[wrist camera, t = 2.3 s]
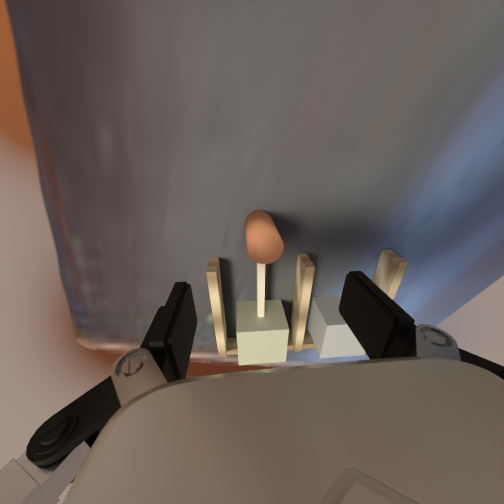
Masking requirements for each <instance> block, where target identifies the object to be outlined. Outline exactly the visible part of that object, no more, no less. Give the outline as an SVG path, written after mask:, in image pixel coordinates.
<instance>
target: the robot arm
mask: <svg viewBox="0 0 504 504" xmlns="http://www.w3.org/2000/svg"><path fill="white" fill-rule="evenodd" d="M339 313H340V315H341V316H342V318H343V319H344V321H345V322H346V324H347V325H348V327H349V328H350V330H351V331H352V333H353V334H354V336H355V337H356V339H357V340H358V342H359V343H360V345H361V346H362V348H363V349H364V351H365V352H366V354H367V355H368V357H369V358H370V360H360V361H348V362H337V363H326V364H315V365H305V366H294V367H283V368H273V369H263V370H253V371H244V372H233V373H225V374H216V375H208V376H199V377H192V378H186V379H185V377H186V373H187V368H188V363H189V359H190V354H191V349H192V345H193V340H194V336H195V331H196V326H197V316H196V311H195V306H194V301H193V296H192V290H191V285H190V284H187V282H176V283H175V284H174V287H173V289H172V291H171V293H170V296H169V298H168V300H167V302H166V304H165V306H161V307H160V308H159V309H158V311H157V313H156V315H155V317H154V319H153V321H152V324H151V326H150V328H149V330H148V332H147V334H146V336H145V338H144V340H143V342H142V344H141V346H140V348H135V349H132V350H130V351H127V352H126V353H124V354H123V355H122V356H120V357H119V358H118V359H117V360H116V361H115V363H114V365H113V366H112V368H111V376H109V377H108V378H107V379H105V380H104V381H102V382H101V383H99V384H98V385H97V386H95V387H94V388H92V389H91V390H89V391H88V392H86V393H85V394H84V395H82V396H81V397H79V398H78V399H76V400H75V401H73V402H72V403H70V404H69V405H67V406H66V407H65V408H63V409H62V410H60V411H59V412H57V413H56V414H54V415H53V416H52V417H50V418H49V419H48V420H47V421H45V422H44V423H43V424H42V425H41V426H40V428H38V429H37V431H36V432H35V433H34V435H33V436H32V438H31V439H30V441H29V443H28V446H27V450H26V451H25V452H24V453H23V454H22V455H21V456H20V457H19V458H18V459H17V460H15V459H12V460H10V461H9V462H8V463H7V464H6V465H5V466H4V467H3V468H2V469H1V470H0V504H57V503H58V501H60V500H59V499H58V497H59V496H60V495H61V493H62V492H63V491H64V490H65V489H66V487H67V486H68V485H69V484H70V483H72V482H73V483H72V485H71V487H70V489H69V491H68V493H67V495H66V497H65V499H64V501H63V503H62V504H504V366H501V365H499V364H496V363H494V362H491V361H489V360H486V359H484V358H481V357H479V356H477V355H474V354H472V353H469V352H467V351H464V350H462V349H459V348H458V345H457V343H456V341H455V340H454V339H453V337H452V336H450V335H449V334H448V333H447V332H445V331H443V330H441V329H439V328H437V327H435V326H431V325H426V324H422V325H418V326H416V325H415V324H414V321H415V320H414V319H413V318H412V317H411V316H410V315H408V314H407V313H406V312H405V311H404V310H403V309H402V308H401V307H400V306H399V305H398V304H396V303H395V302H394V301H393V300H392V299H391V298H390V297H389V296H388V295H387V294H386V293H385V292H383V291H382V290H381V289H380V288H379V287H378V286H377V285H376V284H375V283H374V282H373V281H371V280H370V279H369V278H368V277H367V276H366V275H365V274H364V273H363V272H361V271H351V272H349V274H347V275H346V279H345V283H344V287H343V292H342V296H341V300H340V304H339Z"/></svg>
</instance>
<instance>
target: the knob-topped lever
mask: <svg viewBox="0 0 504 504" xmlns="http://www.w3.org/2000/svg"><path fill="white" fill-rule="evenodd" d="M245 228H246V238H247V248H248V254H249V256H250V258H251V259H252V260H253V261H255V262H257V301H243V302H237V321H236V334H237V346H238V359H239V365H247V364H261V363H275V362H286V354H287V344H288V335H289V327H288V324H287V320H286V317H285V313H284V310H283V306H282V303H281V299H278V300H265V264H270V263H273V262H275V261H276V260H278V259H279V258H280V256H281V255H282V253H283V250H284V244H283V241H282V239H281V237H280V235H279V233H278V231H277V228H276V226H275V224H274V222H273V220H272V218H271V216H270V215H269V214H268V213H267V212H265V211H262V210H257V211H253V212H252V213H250V214H249V215H248V216H247V218H246V221H245Z"/></svg>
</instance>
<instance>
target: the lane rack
mask: <svg viewBox="0 0 504 504" xmlns="http://www.w3.org/2000/svg"><path fill="white" fill-rule="evenodd" d="M408 264H409V262H408V261H407V260H405V259H404V258H402V257H400V256H399V255H397V254H396V253H394V252H393V251H391V250H382V253H381V256H380V259H379V262H378V265H377V268H376V271H375V274H374V277H373V280H372V281H373V282H374V283H375V284H376V285H377V286H378V287H379V288H380V289H381V290H382V291H383V292H385V293H386V294H387V295H388V296H389V297H390V298H391V299H392V300H393V299H394V297H395V295H396V292H397V290H398V287H399V285H400V283H401V280H402V278H403V275H404V273H405V271H406V268H407V266H408ZM314 270H315V266H314V264H313V263H312V261H311V260H310V258H309V257H308V255H307V254H298V260H297V269H296V279H295V288H294V297H293V306H292V316H291V325H290V334H289V335H288V344H287V350H294V352H299V351H302V349H313V348H315V345H314V343H313V340H312V337H311V335H310V333H305V327H306V320H307V314H308V308H309V302H310V295H311V289H312V283H313V277H314ZM206 273H207V279H208V286H209V293H210V299H211V306H212V313H213V319H214V326H215V333H216V339H217V346H218V353H219V357H226V356H227V355H228V354H238V346H237V337H236V338H227V330H226V320H225V311H224V302H223V293H222V284H221V275H220V266H219V258H210V260H209V264H208V268H207V272H206Z"/></svg>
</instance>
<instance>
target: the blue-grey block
mask: <svg viewBox="0 0 504 504" xmlns="http://www.w3.org/2000/svg"><path fill="white" fill-rule="evenodd" d="M340 300H341V296H330V297H313V300H312V306H311V312H310V318H309V324H308V330H309V332H310V335H311V337H312V340H313V343H314V345H315V348H316V350H317V353H318V355H319V358H330V357H343V356H357V355H364V354H365V351H364V349H363V348H362V346H361V345H360V343H359V342H358V340H357V339H356V337H355V336H354V334H353V333H352V331H351V330H350V328H349V327H348V325H347V324H346V322H345V321H344V319H343V318H342V316H341V315H340V313H339V304H340Z"/></svg>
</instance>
